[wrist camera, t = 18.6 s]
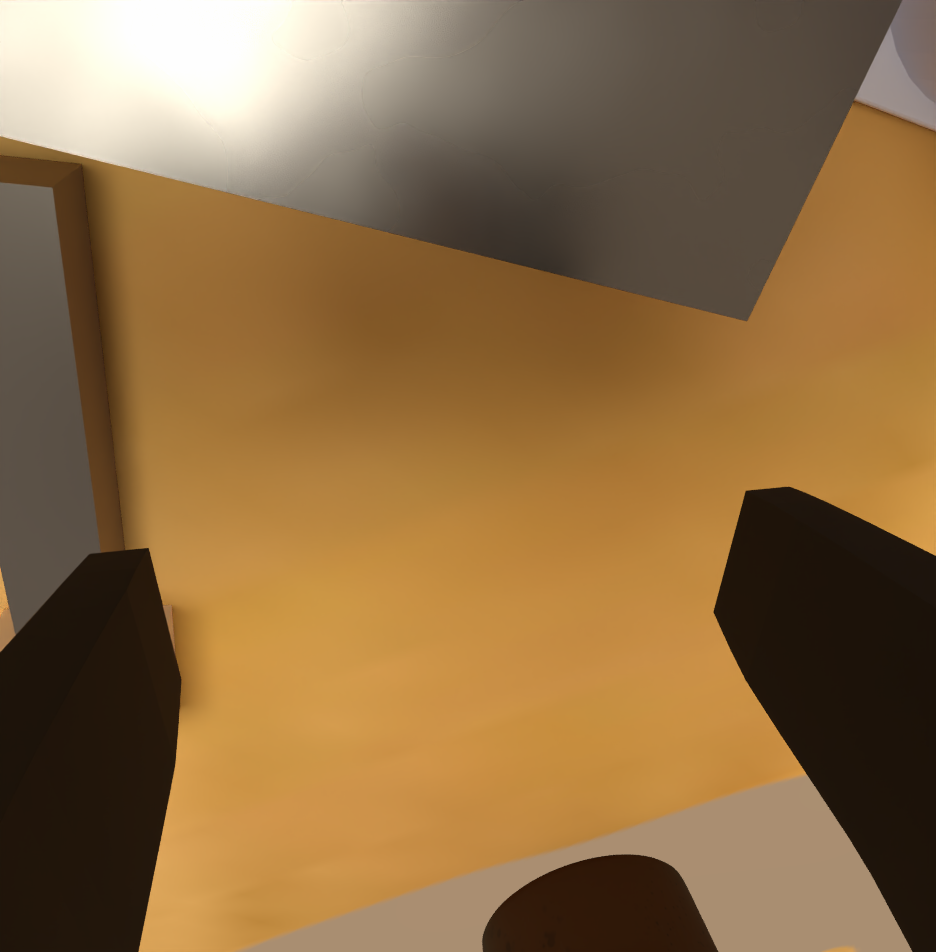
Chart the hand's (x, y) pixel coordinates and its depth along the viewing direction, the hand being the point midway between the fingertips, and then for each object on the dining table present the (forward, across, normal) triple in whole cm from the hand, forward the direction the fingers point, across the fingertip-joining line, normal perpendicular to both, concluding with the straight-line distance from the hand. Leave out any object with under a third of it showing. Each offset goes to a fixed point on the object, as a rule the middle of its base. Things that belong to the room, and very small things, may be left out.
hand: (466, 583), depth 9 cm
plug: (+10, +8, +4) cm, 13 cm away
